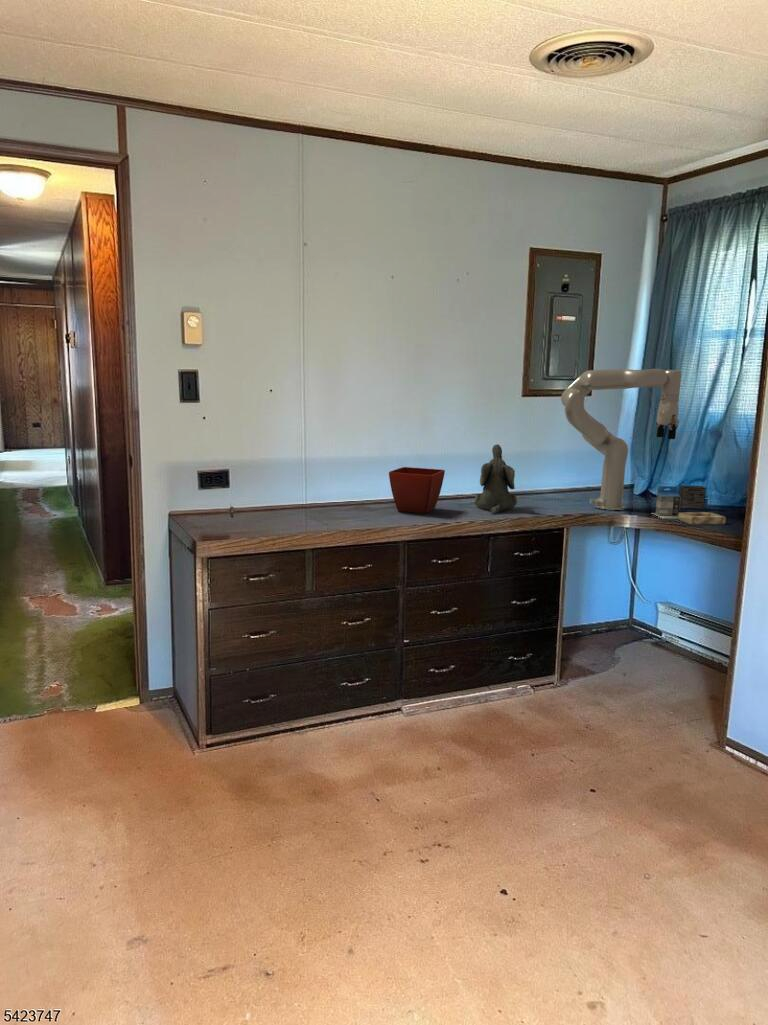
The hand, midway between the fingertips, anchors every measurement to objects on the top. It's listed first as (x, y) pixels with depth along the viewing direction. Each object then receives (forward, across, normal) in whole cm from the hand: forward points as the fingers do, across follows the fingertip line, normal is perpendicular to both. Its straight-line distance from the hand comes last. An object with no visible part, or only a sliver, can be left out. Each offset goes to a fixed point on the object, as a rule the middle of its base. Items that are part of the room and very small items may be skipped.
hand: (665, 438), depth 334 cm
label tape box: (+32, +14, -4) cm, 35 cm away
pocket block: (+32, +26, +5) cm, 42 cm away
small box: (+33, -4, +18) cm, 37 cm away
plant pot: (+32, +1, -111) cm, 116 cm away
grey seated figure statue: (+32, -3, -75) cm, 82 cm away
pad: (+32, +15, -4) cm, 36 cm away
